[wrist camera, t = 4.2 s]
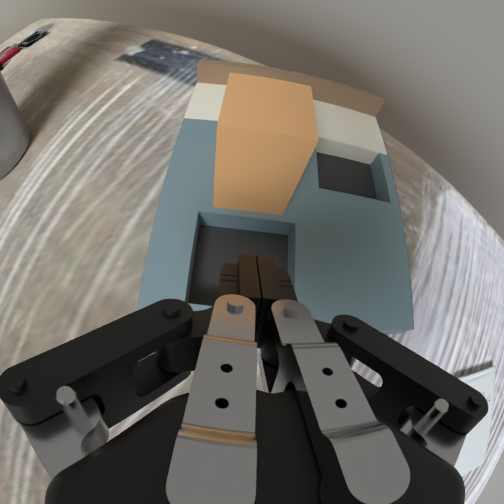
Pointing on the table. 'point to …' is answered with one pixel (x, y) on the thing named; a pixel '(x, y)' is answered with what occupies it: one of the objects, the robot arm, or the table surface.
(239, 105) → the orange block
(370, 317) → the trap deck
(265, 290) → the robot arm
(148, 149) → the table surface
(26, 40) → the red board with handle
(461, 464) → the external hard drive
